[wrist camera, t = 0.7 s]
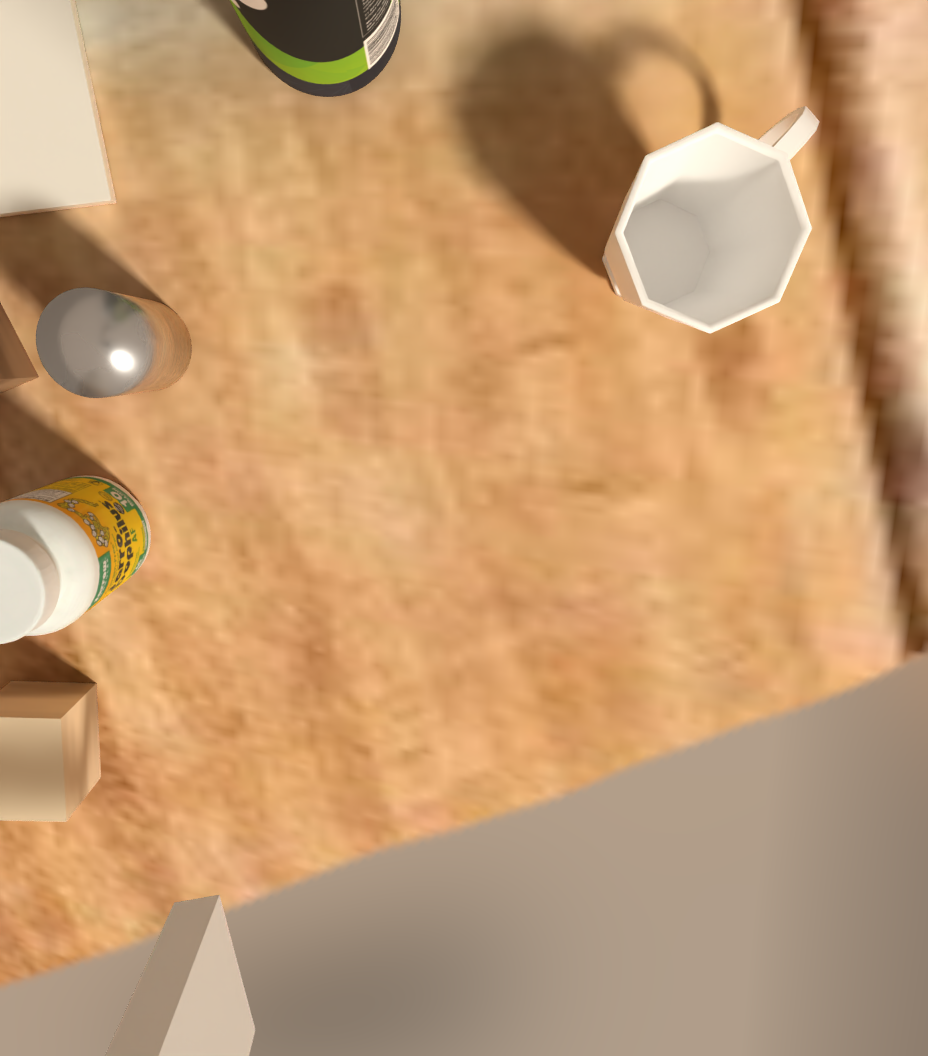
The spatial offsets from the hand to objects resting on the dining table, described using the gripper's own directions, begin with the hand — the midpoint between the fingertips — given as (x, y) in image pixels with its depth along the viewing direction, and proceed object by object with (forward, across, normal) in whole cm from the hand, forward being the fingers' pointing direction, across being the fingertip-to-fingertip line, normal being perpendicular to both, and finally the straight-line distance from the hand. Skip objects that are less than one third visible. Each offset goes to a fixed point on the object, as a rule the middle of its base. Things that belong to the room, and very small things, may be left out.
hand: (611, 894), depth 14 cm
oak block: (+25, -22, -5) cm, 34 cm away
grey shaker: (+25, -14, +12) cm, 31 cm away
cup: (+26, +10, +13) cm, 30 cm away
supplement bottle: (+26, -18, +4) cm, 31 cm away
